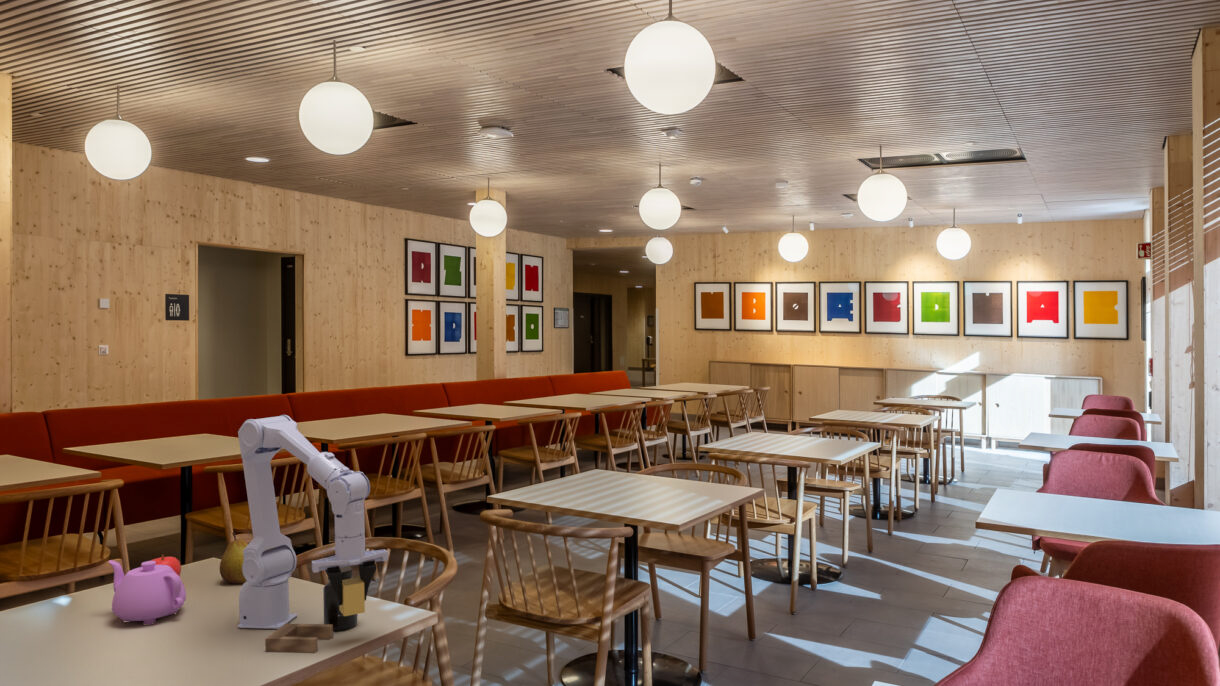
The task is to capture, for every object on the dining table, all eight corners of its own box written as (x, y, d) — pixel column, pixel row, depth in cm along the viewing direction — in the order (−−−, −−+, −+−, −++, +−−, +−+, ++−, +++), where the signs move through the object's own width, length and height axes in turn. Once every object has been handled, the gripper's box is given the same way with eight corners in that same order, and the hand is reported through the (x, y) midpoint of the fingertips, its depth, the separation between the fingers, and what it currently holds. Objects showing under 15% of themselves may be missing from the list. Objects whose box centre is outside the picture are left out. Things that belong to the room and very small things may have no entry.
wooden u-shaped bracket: (265, 651, 158) (265, 638, 157) (286, 635, 165) (285, 623, 165) (314, 652, 156) (314, 639, 156) (333, 636, 164) (332, 624, 164)
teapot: (82, 623, 174) (81, 567, 174) (138, 602, 188) (136, 550, 188) (156, 632, 169) (154, 574, 168) (208, 609, 182) (206, 555, 182)
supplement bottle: (347, 632, 166) (346, 575, 166) (317, 630, 168) (315, 573, 168) (364, 620, 173) (362, 565, 173) (335, 619, 175) (333, 563, 174)
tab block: (339, 610, 163) (338, 580, 163) (359, 606, 165) (359, 577, 165) (344, 616, 159) (343, 586, 159) (364, 612, 161) (364, 582, 161)
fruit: (257, 584, 200) (256, 536, 199) (217, 588, 197) (215, 539, 197) (262, 574, 208) (261, 527, 208) (223, 577, 205) (222, 530, 205)
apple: (137, 591, 196) (136, 558, 196) (160, 580, 204) (159, 549, 204) (166, 592, 195) (165, 559, 194) (189, 582, 202) (188, 550, 202)
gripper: (316, 544, 155) (317, 614, 155) (391, 533, 162) (393, 600, 163) (308, 536, 161) (310, 604, 161) (381, 526, 168) (383, 590, 169)
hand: (351, 601), depth 162 cm, fingers closed on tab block, 4 cm apart
